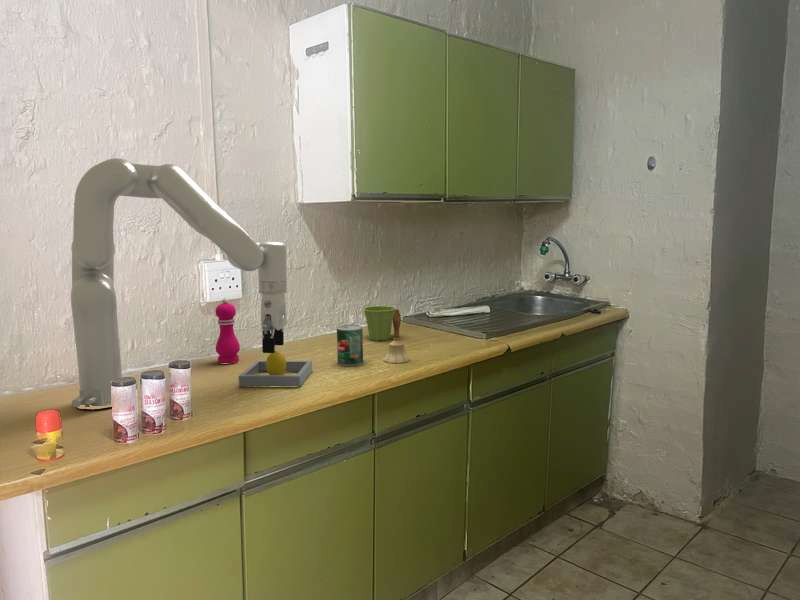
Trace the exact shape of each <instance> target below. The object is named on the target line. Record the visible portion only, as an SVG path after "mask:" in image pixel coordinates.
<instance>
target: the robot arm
mask: <svg viewBox="0 0 800 600" xmlns="http://www.w3.org/2000/svg"><path fill="white" fill-rule="evenodd" d="M119 197H133V198H142V199H143V198H145V199H160V200H161V199H162V200H163V201H164V202H165V203H166V204H167V205H168V206H169V207H170V208H171V209H172V210H173V211H174V212H175V213H176V214H178V215H179V216H180V218H182V219H183V220H184V221H185V222H186V223H187V224H188V225H189V226H190V227H191V228H192V229H193V230H194V231H195V232H197V233H199V234H200V235H202V236H204V237H205V238H206V239H208V240H210V241H211V242H212V243H213V244H215V246H217V247H218V248H219V249H220V250H221V251H222V252H223V253H224V254H225V255H226V257H227V260H228V262H229V263H230V265H232V267H234V268H236V269H238V270H242V271H244V272H254V271H256V270H258V272H257V274H258V294H260V295H261V301H260V302H261V303H260V324H261V325H260V326H261V330H262V331H261V333H262V334H261V335H262V336H261V339H262V341H261V342H262V343H261V345H262V346H261V347H262V350H261V351H262V353H263V354H271V353H274V352H275V351H276V347H275V346H284V343H285V342H284V340H285V339H284V337H285V336H284V335H285V333H284V328H285V326H286V325H287V323H288V319H287V316H288V315H287V303H286V302H287V301H286V293H287V290H288V288H287V283H288V281H287V280H288V279H287V278H288V277H287V276H288V274H287V265H288V264H287V246H286V244H285V243H284V242H282V241H262V242H256V241H255V240H254V239H253V238H252V237H251V236H250V235H249V234H248V233H247V232H246V231H245V230H244V229H243V228H242V227H241V225H239V224H238V223H237V222H236V221H235V220H234V219H232V218H231V217H230V215H228V214H227V213H226V212H225V211H224V210H223V209H222V208H221V207H220V206H219V205H218V204H217V203H216V202H215V201H214V200H212V198H210V196H208V195H207V193H205V191H203V189H202V188H201V187H199V185H198V184H197V183H196V182H195V181H194V180H193V179H192V178H191V177H190V176H189V175H188V174H187V173H186V172H185V171H184V170H182V168H180V167H179V166H177V165H176V164H171V163H165V164H162V165H154V164H153V165H152V164H140V163H134V162H133V163H132V162H130V161H128V160H126V159H124V158H118V157H117V158H116V157H115V158H109V159H106V160H104V161H103V160H102V161H101V162H99V163H98V164H95V165H93V166H92V167H90V168H89V169H88V170H87V171H86V172H85V173H84V174H83V176H82V177H81V179H80V180H79V182H78V184H77V187H76V189H75V193H74V200H73V201H74V202H73V203H74V204H73V219H72V220H73V226H72V227H73V231H72V232H73V233H72V234H73V235H72V237H73V238H72V243H71V248H70V249H71V292H70V306H71V313H72V322H73V329H74V330H73V333H74V342H75V349H76V350H75V351H76V361H77V371H78V380H79V389H80V390H79V393H78V394H79V396H78V397H76V398H74V399H73V400H72V401H71V405H72V407H74V408H75V407H79V406H80V405H85V407H90V406H89V405H92V406H107V405H111V381H112V380H114V379H117V378H122V379H123V369H122V358H121V357H122V356H121V347H120V337H119V326H118V325H119V324H118V307H117V306H118V305H117V304H118V303H117V302H118V301H117V295H116V294H117V293H116V290H115V287H114V286H115V285H114V284H115V283H114V280H115V279H114V277H115V276H114V273H115V271H114V270H115V269H114V267H115V265H114V264H115V263H114V261H115V260H114V259H115V254H116V247H115V246H116V245H115V242H114V240H115V239H114V217H115V204H116V202H117V199H118V198H119Z"/></svg>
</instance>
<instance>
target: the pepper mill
mask: <svg viewBox="0 0 800 600" xmlns="http://www.w3.org/2000/svg"><path fill="white" fill-rule="evenodd" d="M221 302H222V303H220V304H218V305H217V306H216V307H215V315H216V317H217V318H218V319H217V325H219V329H220V330H219V336H218V339H217V341H216V343H215V352H216V353H217V354H218V355H219V356H218V357H217V362H219V363H233V362H237V361H239V362H240V356H239V355H238V353H239V352H240V350H241V346H240V342H239V340H238V339H237V336H236V335H235V331H234V324H236V321H235V316H236V314H237V309H236V307H235V305H234V304H231V303H229V299H228V298H226V297H224V298H223V299H222V301H221ZM219 363H218V364H219ZM237 363H238V362H237Z"/></svg>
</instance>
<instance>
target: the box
mask: <svg viewBox="0 0 800 600" xmlns="http://www.w3.org/2000/svg"><path fill="white" fill-rule="evenodd" d="M259 371H267V369H266V360H255V361H254V362H253V363H252V364H251V365H250V366H248V367H247V369H245V370H244V371H243V372H242V373H240V374H239V376H238V385H239V386H301V385H302V386H303V384H304V383H305V382H304V381H306V380H307V379H308V377H309V376H310V375H311V374H312V372H313V360H286V370H285V371H289V372H288V373H296V374H283V375H269V374H259V373H260V372H259ZM290 371H291V372H290ZM258 372H259V373H258ZM257 373H258V374H257ZM256 374H257V375H256ZM306 378H307V379H306ZM303 382H304V383H303ZM239 386H238V387H239ZM302 386H301V387H302Z"/></svg>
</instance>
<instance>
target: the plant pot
mask: <svg viewBox="0 0 800 600" xmlns="http://www.w3.org/2000/svg"><path fill="white" fill-rule="evenodd" d="M395 309H397V308H396V307H395V306H391V305H372V306H365V307H363V308H362V311H363V313H364V317H365V320H366V325H367V331H368V337H369V339H370V340H371V341H375V342H378V341H384V340H385V341H388V340H390V338H391V333H392V327H393V320H392V319H393V314H394V311H395Z"/></svg>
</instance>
